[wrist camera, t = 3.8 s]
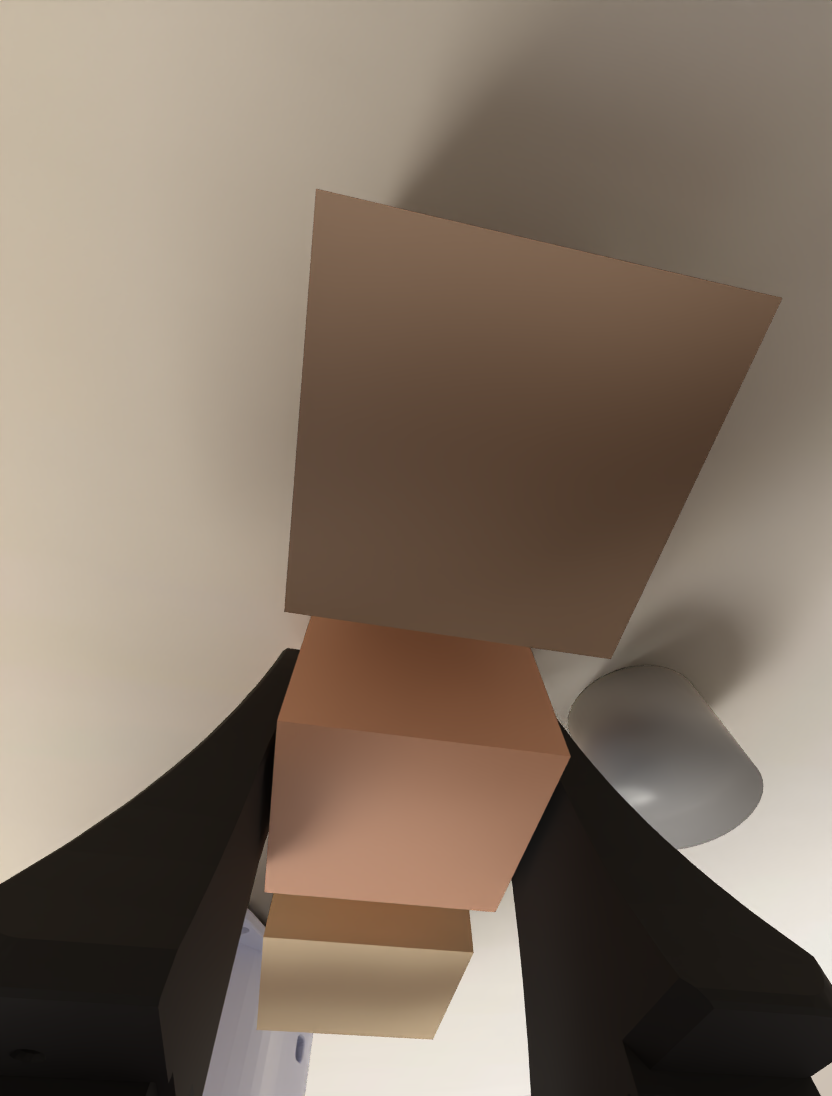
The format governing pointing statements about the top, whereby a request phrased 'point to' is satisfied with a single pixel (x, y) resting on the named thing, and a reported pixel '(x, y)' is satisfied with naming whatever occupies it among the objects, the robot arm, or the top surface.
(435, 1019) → the oak block
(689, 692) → the grey tin
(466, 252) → the walnut block
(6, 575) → the top surface
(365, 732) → the terracotta block
